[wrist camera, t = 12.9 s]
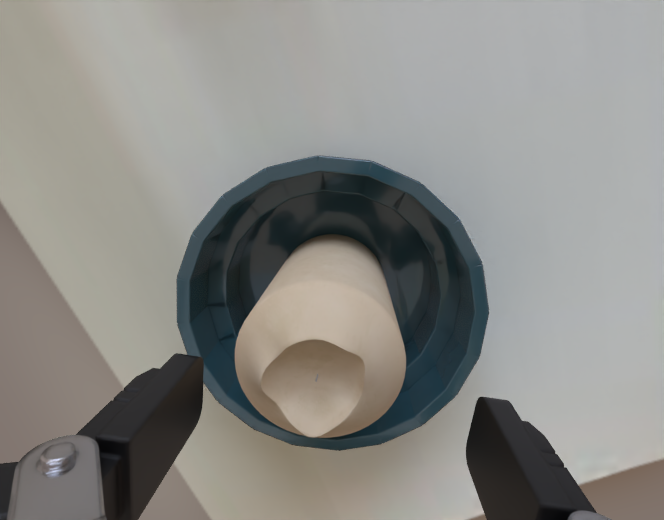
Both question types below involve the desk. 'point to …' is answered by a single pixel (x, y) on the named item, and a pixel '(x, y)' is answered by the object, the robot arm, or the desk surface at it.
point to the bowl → (372, 231)
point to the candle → (323, 342)
